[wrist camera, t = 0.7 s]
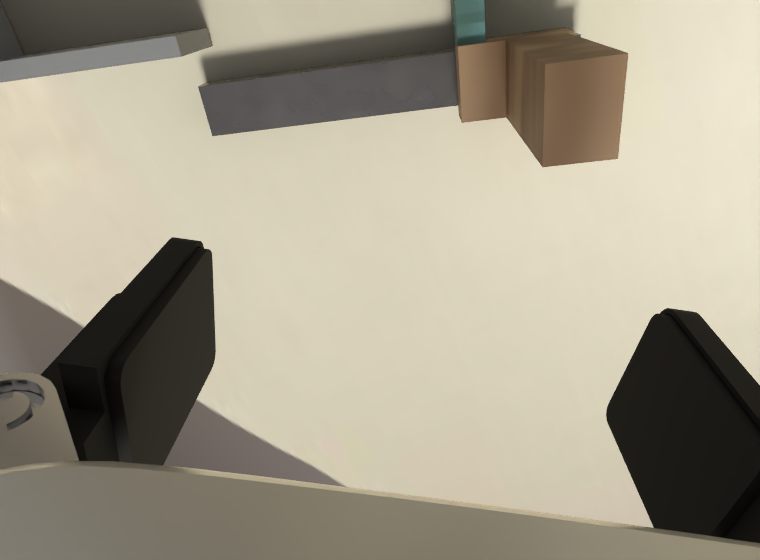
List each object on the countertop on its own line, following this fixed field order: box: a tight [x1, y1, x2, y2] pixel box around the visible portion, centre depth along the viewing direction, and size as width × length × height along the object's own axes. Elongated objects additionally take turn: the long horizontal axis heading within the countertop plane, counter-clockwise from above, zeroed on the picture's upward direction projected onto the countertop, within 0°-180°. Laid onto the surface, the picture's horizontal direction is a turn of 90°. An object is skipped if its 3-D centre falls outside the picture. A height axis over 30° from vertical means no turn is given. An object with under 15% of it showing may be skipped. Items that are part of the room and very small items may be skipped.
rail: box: [198, 33, 581, 136], centre depth 31 cm, size 22×3×2 cm, turn 98°
